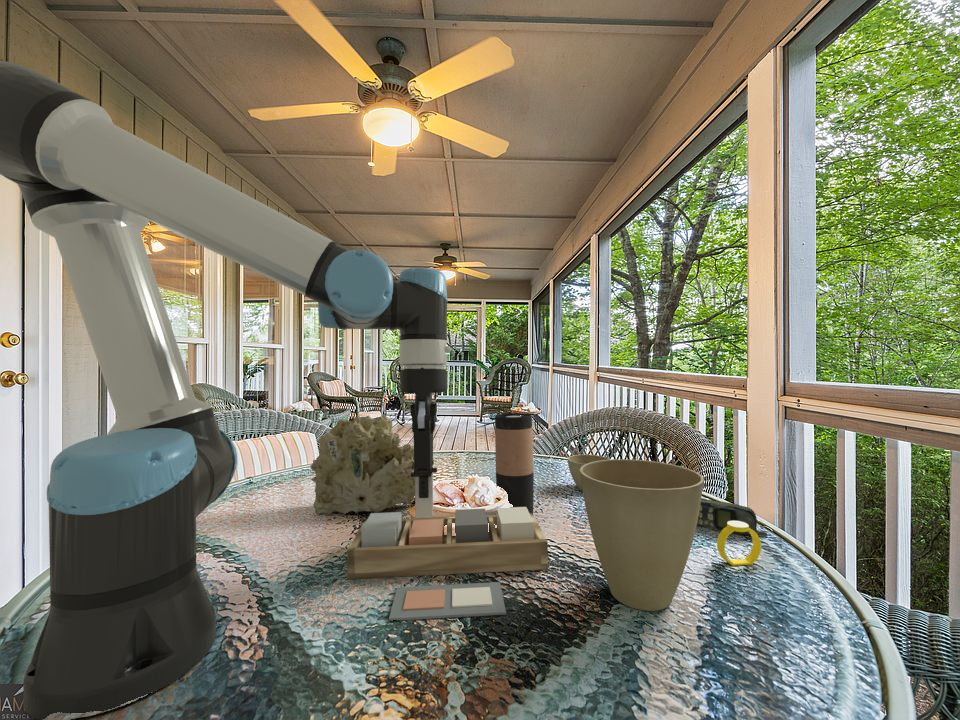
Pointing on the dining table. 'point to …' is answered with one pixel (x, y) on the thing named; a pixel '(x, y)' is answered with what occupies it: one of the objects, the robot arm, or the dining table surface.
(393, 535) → the key bluegrey
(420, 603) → the card
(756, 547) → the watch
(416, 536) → the key terracotta
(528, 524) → the cream rectangular block
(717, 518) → the mobile phone
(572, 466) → the flower pot
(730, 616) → the dining table surface
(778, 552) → the dining table surface
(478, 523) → the grey rectangular block
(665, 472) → the plant pot
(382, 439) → the coral
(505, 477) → the travel mug
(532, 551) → the wooden compartment tray
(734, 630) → the dining table surface
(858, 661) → the dining table surface
